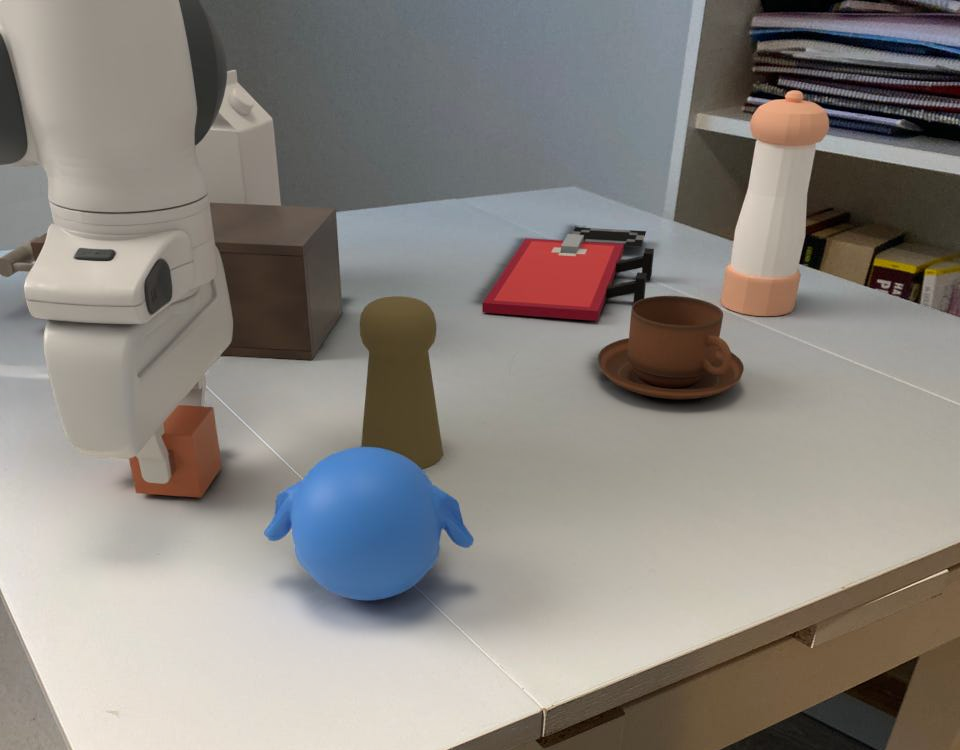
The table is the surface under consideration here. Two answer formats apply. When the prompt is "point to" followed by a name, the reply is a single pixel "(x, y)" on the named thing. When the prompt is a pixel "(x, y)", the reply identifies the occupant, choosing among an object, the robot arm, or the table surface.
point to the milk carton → (240, 151)
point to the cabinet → (279, 277)
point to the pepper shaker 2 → (774, 208)
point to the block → (186, 453)
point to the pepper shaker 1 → (400, 379)
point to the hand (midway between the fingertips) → (175, 458)
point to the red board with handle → (569, 275)
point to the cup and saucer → (672, 350)
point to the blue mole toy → (367, 523)
